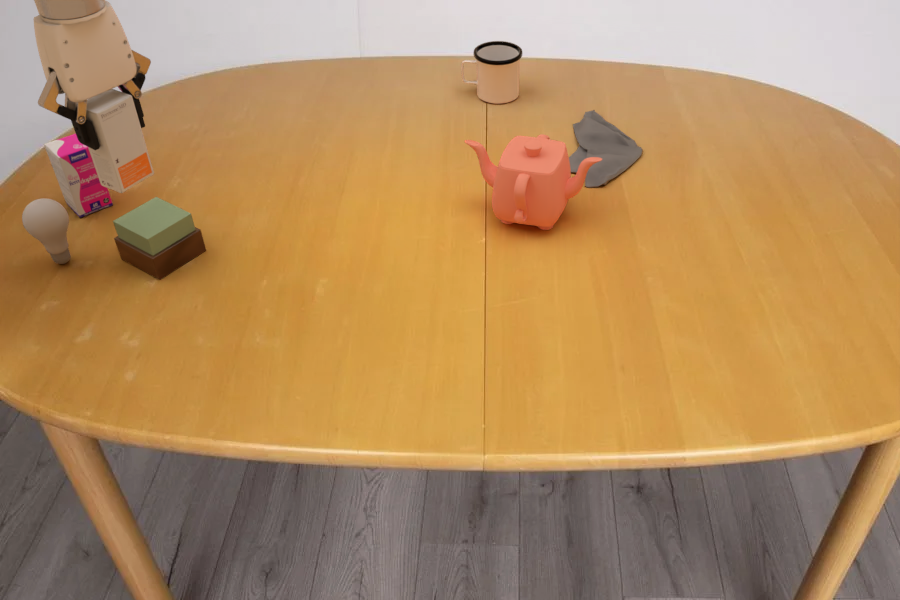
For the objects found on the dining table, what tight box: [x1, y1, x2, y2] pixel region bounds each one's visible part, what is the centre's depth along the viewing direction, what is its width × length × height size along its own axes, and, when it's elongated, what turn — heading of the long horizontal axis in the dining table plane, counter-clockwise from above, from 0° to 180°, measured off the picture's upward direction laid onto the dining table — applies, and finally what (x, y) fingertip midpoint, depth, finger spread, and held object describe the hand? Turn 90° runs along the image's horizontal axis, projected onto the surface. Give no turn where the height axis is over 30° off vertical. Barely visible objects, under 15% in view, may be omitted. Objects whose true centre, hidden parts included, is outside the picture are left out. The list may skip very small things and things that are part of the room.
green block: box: [112, 196, 196, 256], centre depth 131 cm, size 8×8×3 cm
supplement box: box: [43, 133, 114, 219], centre depth 141 cm, size 6×6×12 cm
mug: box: [460, 40, 523, 105], centre depth 171 cm, size 12×10×9 cm
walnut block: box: [113, 226, 207, 281], centre depth 133 cm, size 9×9×4 cm
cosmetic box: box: [86, 88, 155, 194], centre depth 116 cm, size 6×4×12 cm
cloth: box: [568, 109, 643, 188], centre depth 157 cm, size 26×14×2 cm, turn 168°
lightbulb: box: [21, 197, 72, 265], centre depth 130 cm, size 6×6×11 cm
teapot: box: [464, 133, 602, 231], centre depth 139 cm, size 15×17×13 cm
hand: (113, 134), depth 115 cm, fingers closed on cosmetic box, 6 cm apart
